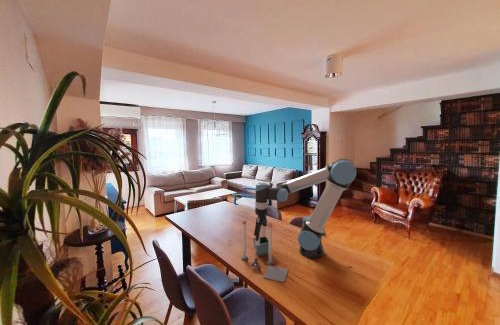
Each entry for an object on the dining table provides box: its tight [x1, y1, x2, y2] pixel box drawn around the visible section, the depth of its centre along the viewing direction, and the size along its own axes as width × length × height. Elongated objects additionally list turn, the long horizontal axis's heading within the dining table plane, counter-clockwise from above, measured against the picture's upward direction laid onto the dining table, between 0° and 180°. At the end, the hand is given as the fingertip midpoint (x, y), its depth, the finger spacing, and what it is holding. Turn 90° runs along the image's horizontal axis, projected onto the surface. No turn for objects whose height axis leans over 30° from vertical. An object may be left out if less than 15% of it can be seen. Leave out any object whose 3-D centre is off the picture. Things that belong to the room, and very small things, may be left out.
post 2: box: [266, 222, 274, 266], centre depth 124 cm, size 4×4×24 cm
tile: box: [263, 265, 289, 283], centre depth 116 cm, size 11×11×1 cm
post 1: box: [240, 219, 249, 261], centre depth 130 cm, size 4×4×24 cm
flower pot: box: [252, 236, 269, 257], centre depth 136 cm, size 9×9×9 cm
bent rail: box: [250, 257, 262, 272], centre depth 123 cm, size 8×5×3 cm, turn 160°
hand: (260, 240), depth 136 cm, fingers open, 13 cm apart
